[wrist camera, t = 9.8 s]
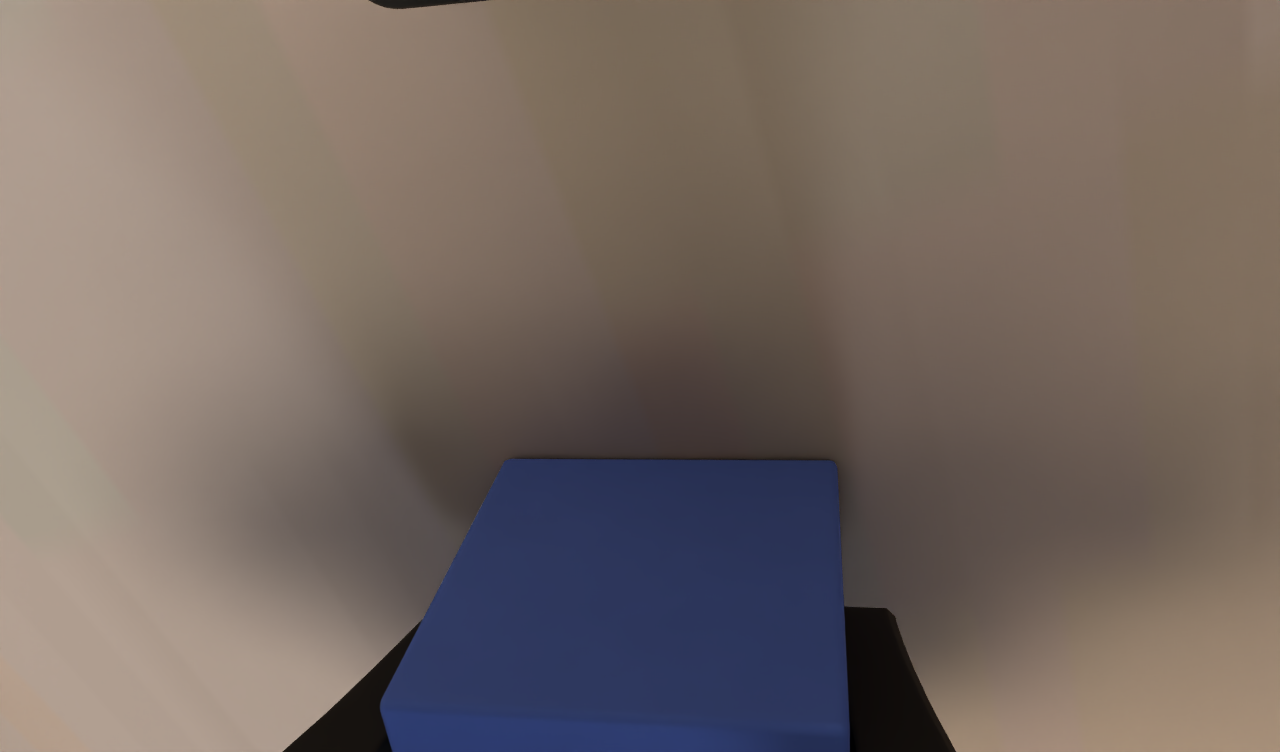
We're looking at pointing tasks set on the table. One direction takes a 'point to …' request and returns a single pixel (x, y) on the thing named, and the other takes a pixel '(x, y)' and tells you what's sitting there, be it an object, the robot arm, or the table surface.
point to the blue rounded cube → (636, 614)
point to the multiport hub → (417, 3)
